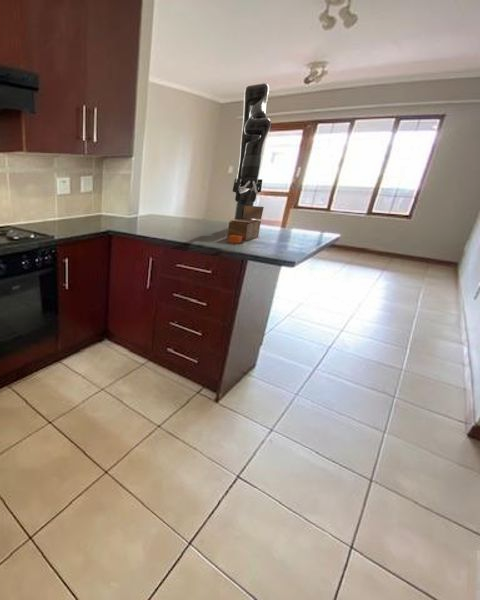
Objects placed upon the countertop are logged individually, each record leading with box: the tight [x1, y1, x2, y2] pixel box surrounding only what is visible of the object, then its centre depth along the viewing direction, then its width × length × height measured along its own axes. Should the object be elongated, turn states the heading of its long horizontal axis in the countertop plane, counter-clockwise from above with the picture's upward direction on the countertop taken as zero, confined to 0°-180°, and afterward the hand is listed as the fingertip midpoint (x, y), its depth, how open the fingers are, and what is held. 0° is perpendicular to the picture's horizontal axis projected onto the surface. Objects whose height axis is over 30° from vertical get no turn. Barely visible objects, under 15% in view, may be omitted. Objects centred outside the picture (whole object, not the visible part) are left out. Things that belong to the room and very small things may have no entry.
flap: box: [243, 205, 264, 220], centre depth 176 cm, size 6×10×1 cm
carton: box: [226, 219, 262, 241], centre depth 175 cm, size 13×10×9 cm
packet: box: [227, 235, 243, 244], centre depth 167 cm, size 4×5×3 cm
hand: (245, 201), depth 162 cm, fingers open, 8 cm apart
